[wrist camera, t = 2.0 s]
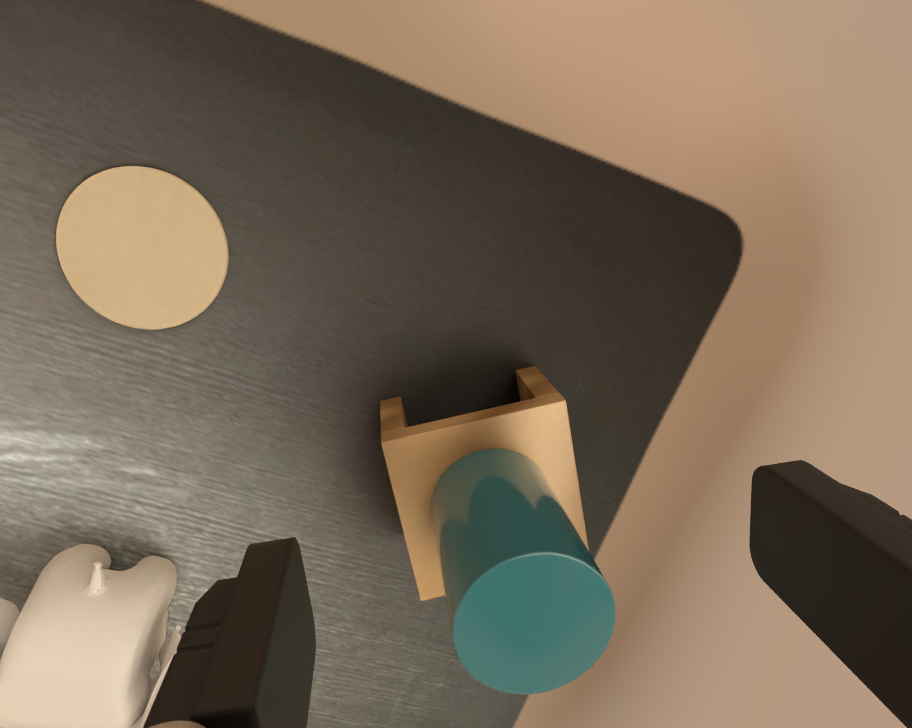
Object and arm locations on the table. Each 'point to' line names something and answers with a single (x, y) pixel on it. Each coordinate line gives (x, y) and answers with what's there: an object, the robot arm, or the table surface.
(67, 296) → the table surface
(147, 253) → the coaster
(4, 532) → the table surface
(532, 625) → the teal cylinder
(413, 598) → the table surface
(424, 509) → the shelf
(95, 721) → the elephant figurine
